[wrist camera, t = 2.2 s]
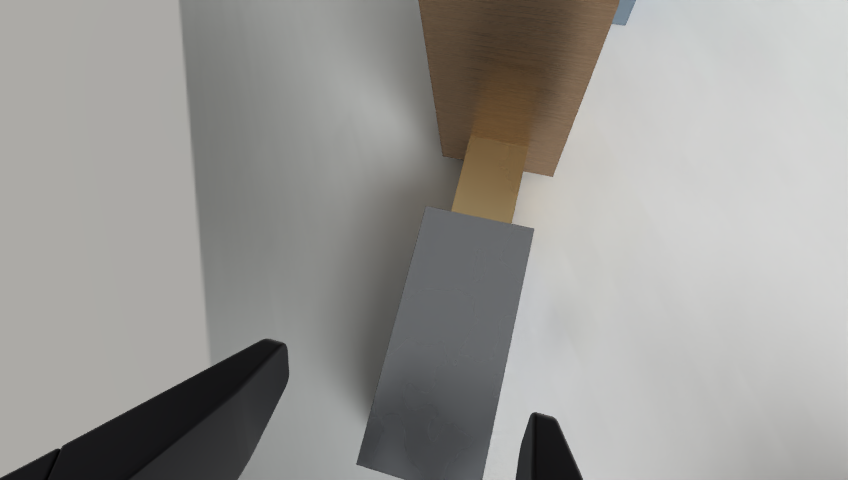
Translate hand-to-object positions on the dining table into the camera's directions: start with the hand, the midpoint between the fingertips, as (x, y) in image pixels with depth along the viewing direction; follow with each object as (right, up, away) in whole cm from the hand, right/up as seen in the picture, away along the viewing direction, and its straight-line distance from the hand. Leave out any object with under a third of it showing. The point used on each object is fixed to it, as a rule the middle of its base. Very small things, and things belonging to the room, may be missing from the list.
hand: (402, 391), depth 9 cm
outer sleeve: (+2, -2, +13) cm, 14 cm away
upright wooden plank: (+4, +5, +14) cm, 15 cm away
